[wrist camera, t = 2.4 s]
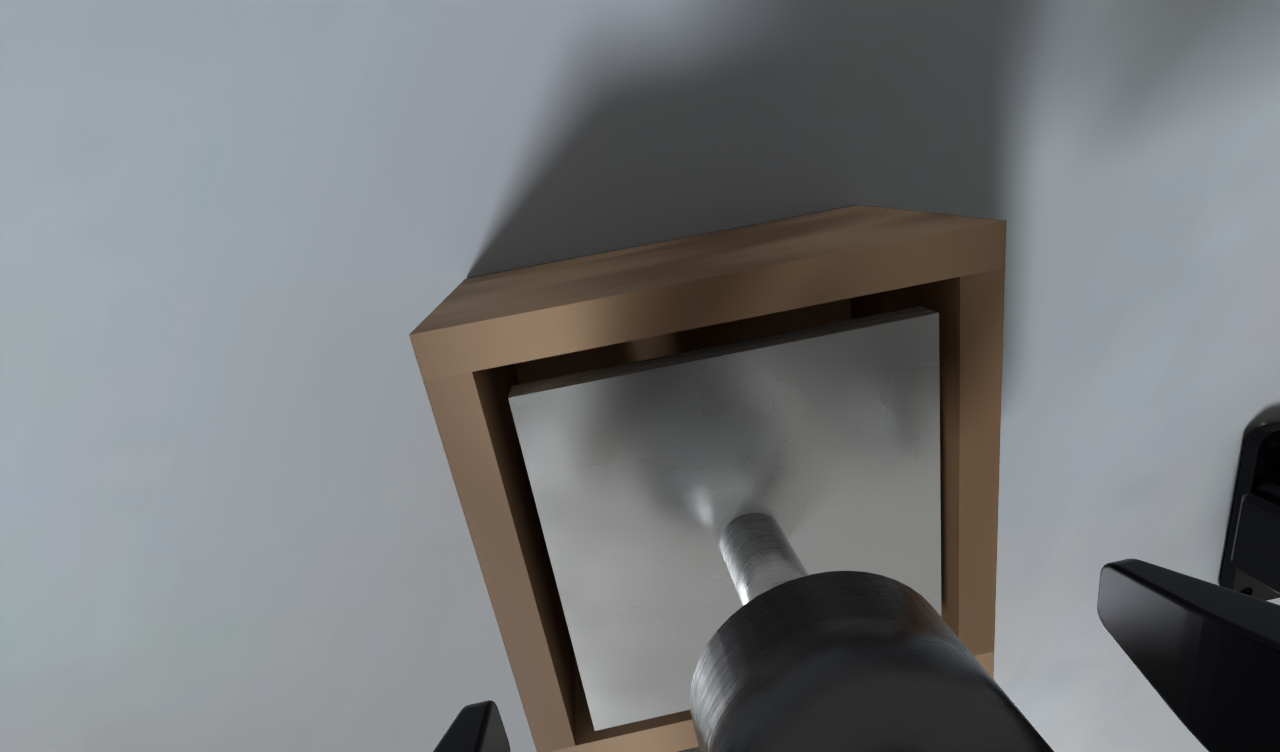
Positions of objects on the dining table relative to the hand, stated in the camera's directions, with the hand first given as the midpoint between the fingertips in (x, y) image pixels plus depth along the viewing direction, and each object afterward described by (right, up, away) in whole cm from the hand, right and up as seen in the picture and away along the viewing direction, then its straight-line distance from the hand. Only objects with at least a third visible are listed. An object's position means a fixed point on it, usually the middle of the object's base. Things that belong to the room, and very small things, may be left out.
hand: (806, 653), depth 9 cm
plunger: (0, +1, +3) cm, 3 cm away
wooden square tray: (-1, +3, +8) cm, 8 cm away
